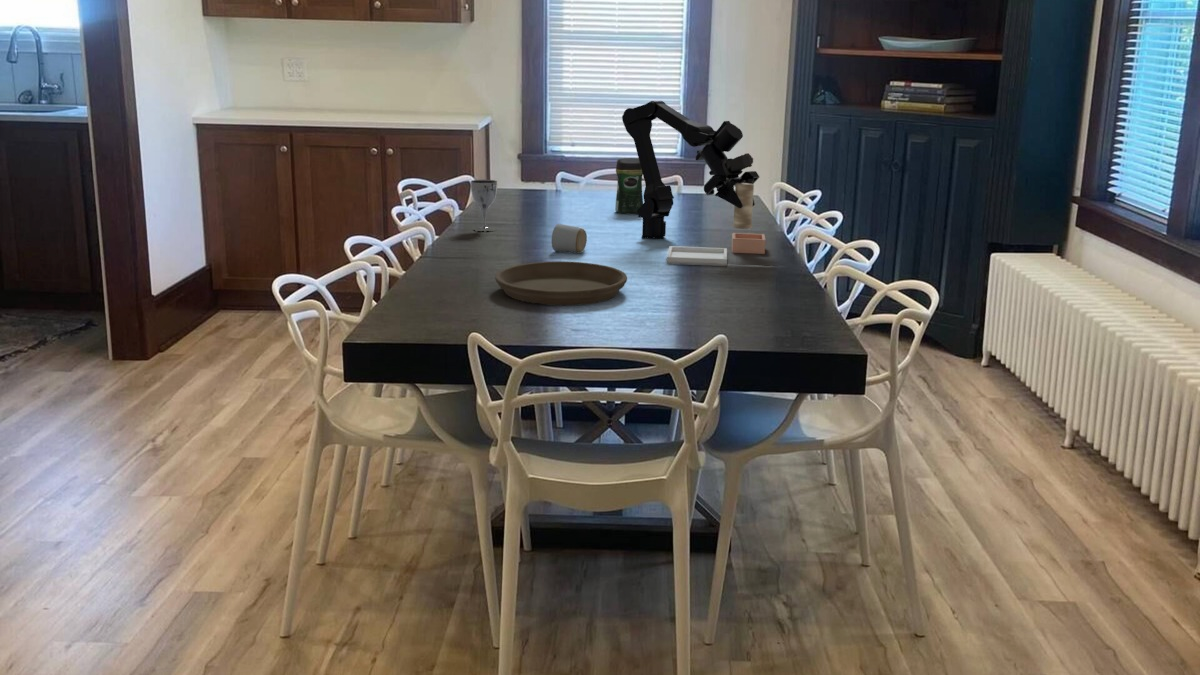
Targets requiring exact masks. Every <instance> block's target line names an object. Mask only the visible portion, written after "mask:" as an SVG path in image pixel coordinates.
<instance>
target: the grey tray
mask: <svg viewBox="0 0 1200 675" xmlns="http://www.w3.org/2000/svg"><path fill="white" fill-rule="evenodd" d="M727 264H728V248H727V247H704V246H703V247H702V246H701V247H700V246H679V245H678V246H677V245H675V246H672V245H669V247H668V250H667V254H666V265H689V266H690V265H691V266H711V267H712V266H713V267H714V266H715V267H720V266H721V267H727V266H728V265H727Z"/></svg>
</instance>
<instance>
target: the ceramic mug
mask: <svg viewBox="0 0 1200 675" xmlns="http://www.w3.org/2000/svg"><path fill="white" fill-rule="evenodd" d="M587 238H588V237H587V232H586V230H585V229H584V228H582V227H579V226H575V225H568V224H563V223H557V224H556V225H555V226H554V228H553V229H552V234H551V248H552V249H553V251H555V252H558V251H561V253H569V252H570V253H571V254H581V253H582V252H584V251H585V248H586V246H587V242H588V239H587ZM570 253H569V254H570Z"/></svg>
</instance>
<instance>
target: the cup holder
mask: <svg viewBox="0 0 1200 675" xmlns="http://www.w3.org/2000/svg"><path fill="white" fill-rule="evenodd" d="M731 253H733V254H735V253H736V254H737V253H738V254H758V255H759V254H760V255H761V254H762V255H765V253H766V236H765V233H747V232H746V233H745V232H744V233H743V232H742V233H739V232H732V233H731Z"/></svg>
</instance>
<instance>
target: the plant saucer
mask: <svg viewBox="0 0 1200 675" xmlns="http://www.w3.org/2000/svg"><path fill="white" fill-rule="evenodd" d="M494 278H495V282H496V283H497V285H498V286H499V288H500V289H502V290H504V293H505V294H506V295H507V296H508V297H509V296H510V297H509V298H511V297H512V298H511V299H513V298H515V299H514V300H516V299H518V300H517V301H519V300H523V301H522V302H524V301H527V302H526V303H529V302H533V303H532V304H535V303H542V304H541V305H545V304H552V305H551V306H578V305H579V306H582V305H590V304H597V303H601V302H604V301H605V302H606V301H609V300H611V299H613V298H614V297H616V296H617V294H618V293H619V291H620V290H622V289H623V287H625V284H626V283H627V281H628V276H627V274H626V273H625V272H624V271H623V270H620V269H617V268H615V267H612V266H608V265H603V264H598V263H589V262H584V261H583V262H581V261H565V260H564V261H557V260H556V261H539V262H536V261H535V262H529V263H528V262H527V263H521V264H516V265H512V266H508V267H506V268H502V269H501V270H499V271H497V272H496V274H495V275H494Z"/></svg>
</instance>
